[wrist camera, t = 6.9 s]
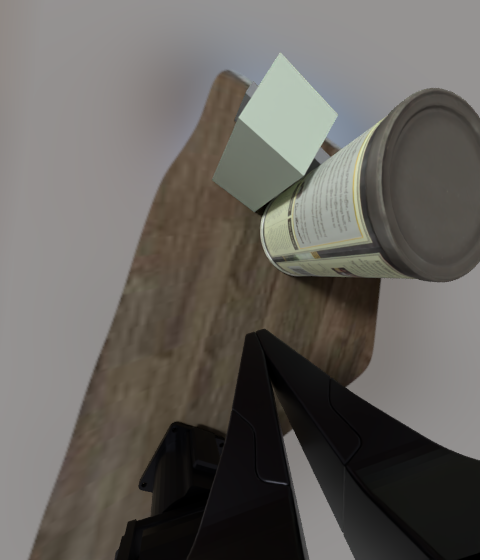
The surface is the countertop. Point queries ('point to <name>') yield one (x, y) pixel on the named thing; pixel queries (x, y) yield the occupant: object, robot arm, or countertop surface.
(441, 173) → the coffee can
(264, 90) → the tea tin
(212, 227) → the countertop surface
